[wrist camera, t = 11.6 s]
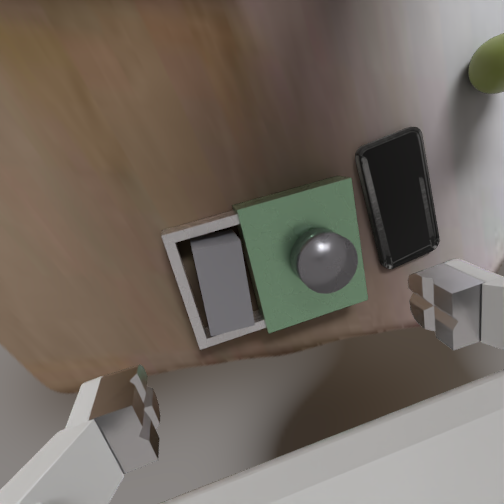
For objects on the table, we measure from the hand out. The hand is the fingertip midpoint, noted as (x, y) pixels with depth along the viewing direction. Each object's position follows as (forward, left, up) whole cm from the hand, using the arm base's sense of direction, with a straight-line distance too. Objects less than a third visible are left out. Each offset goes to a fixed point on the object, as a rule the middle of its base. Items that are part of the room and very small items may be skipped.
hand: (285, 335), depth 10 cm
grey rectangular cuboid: (+8, -1, -27) cm, 28 cm away
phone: (+6, +22, -27) cm, 35 cm away
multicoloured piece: (+8, +5, -26) cm, 28 cm away
